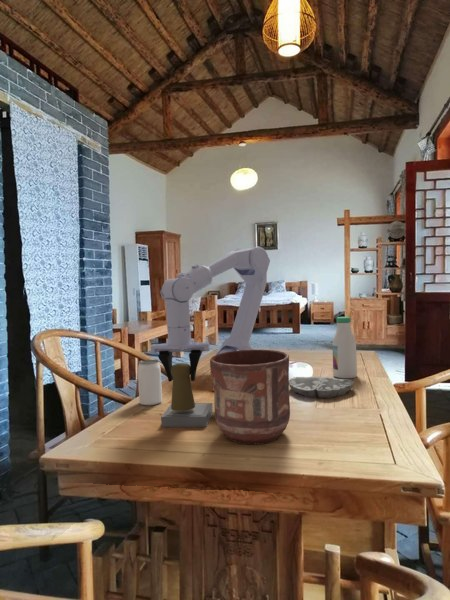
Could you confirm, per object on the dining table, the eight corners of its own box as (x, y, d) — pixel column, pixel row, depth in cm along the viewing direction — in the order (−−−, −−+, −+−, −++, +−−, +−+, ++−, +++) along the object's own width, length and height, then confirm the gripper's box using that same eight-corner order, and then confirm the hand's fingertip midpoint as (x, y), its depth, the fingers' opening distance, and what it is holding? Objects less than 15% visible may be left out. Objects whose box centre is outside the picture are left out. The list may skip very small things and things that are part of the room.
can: (157, 406, 128) (155, 364, 127) (136, 405, 129) (133, 364, 128) (165, 399, 134) (163, 359, 133) (144, 399, 136) (142, 359, 135)
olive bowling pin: (184, 411, 109) (182, 366, 109) (166, 409, 113) (163, 365, 112) (200, 405, 114) (197, 362, 114) (181, 403, 118) (179, 361, 117)
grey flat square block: (212, 412, 120) (212, 402, 120) (206, 426, 109) (205, 416, 109) (172, 412, 121) (171, 403, 121) (161, 426, 110) (161, 416, 110)
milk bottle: (359, 374, 154) (358, 316, 152) (353, 380, 147) (351, 318, 146) (337, 373, 158) (335, 315, 156) (330, 377, 151) (328, 318, 150)
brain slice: (280, 399, 130) (280, 389, 130) (293, 384, 146) (293, 375, 146) (351, 403, 123) (351, 392, 123) (356, 387, 139) (356, 377, 139)
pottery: (216, 422, 112) (212, 350, 110) (287, 420, 111) (285, 347, 110) (211, 452, 94) (207, 366, 93) (297, 449, 93) (293, 363, 92)
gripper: (145, 329, 110) (149, 385, 111) (204, 327, 108) (208, 383, 109) (153, 325, 117) (157, 377, 118) (209, 323, 115) (212, 376, 116)
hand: (181, 380), depth 114 cm, fingers closed on olive bowling pin, 5 cm apart
